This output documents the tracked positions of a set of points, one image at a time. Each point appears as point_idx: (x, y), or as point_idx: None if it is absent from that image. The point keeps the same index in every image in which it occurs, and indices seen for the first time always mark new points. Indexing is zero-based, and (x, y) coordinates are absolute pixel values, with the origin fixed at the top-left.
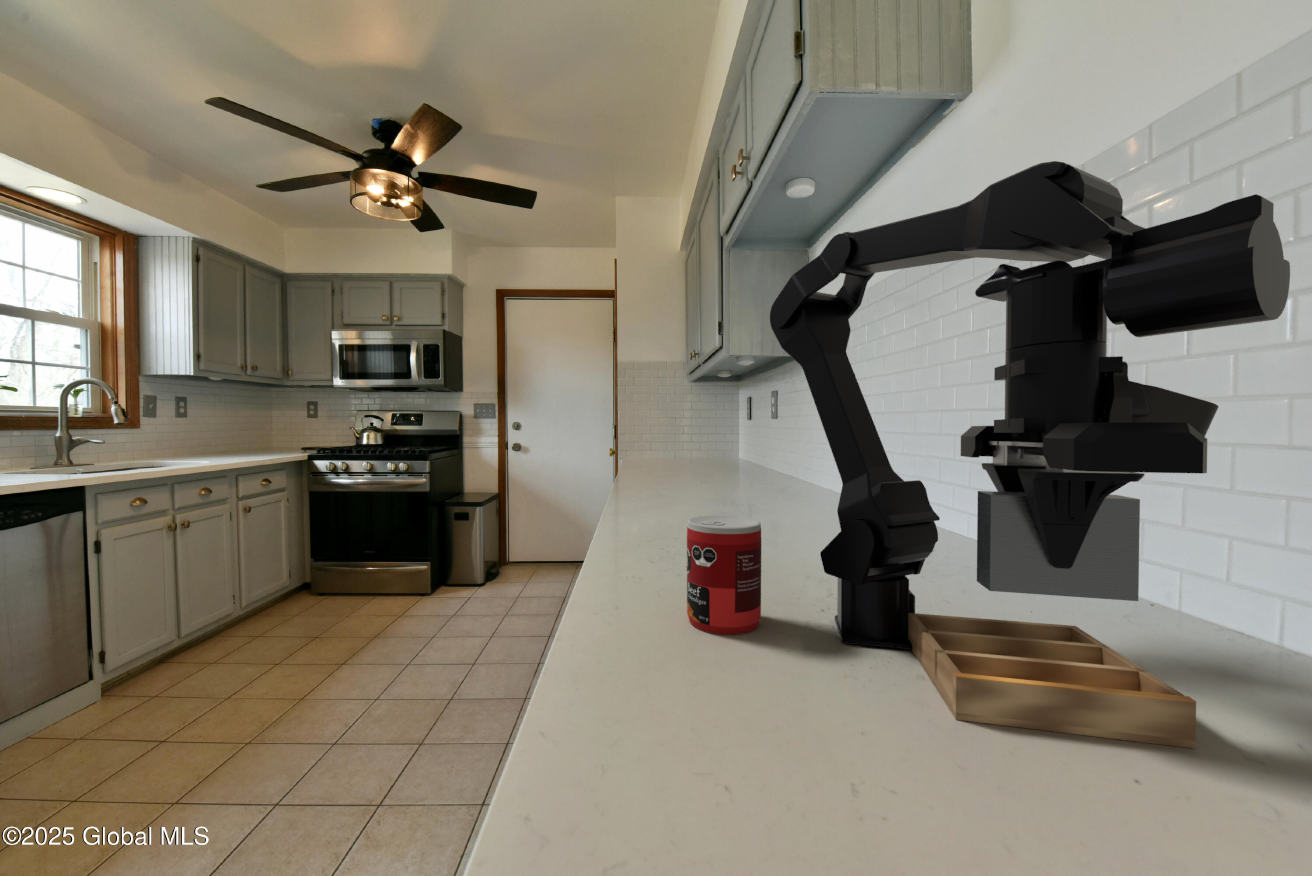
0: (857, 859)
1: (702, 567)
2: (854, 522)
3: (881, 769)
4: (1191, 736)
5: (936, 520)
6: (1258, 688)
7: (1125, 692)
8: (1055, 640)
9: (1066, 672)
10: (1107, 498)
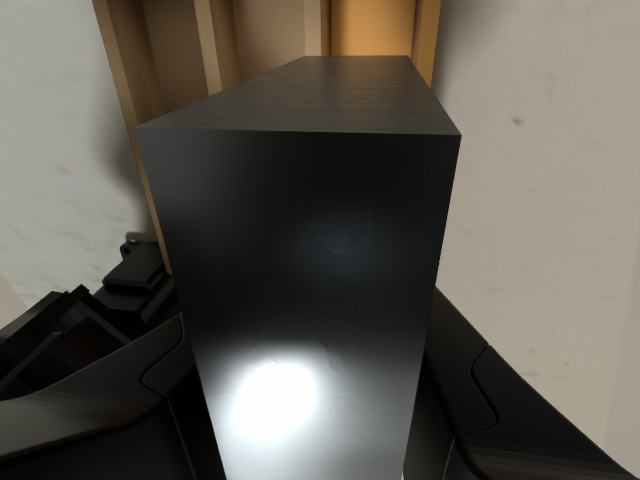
0: (607, 388)
1: None
2: None
3: (500, 350)
4: None
5: (27, 384)
6: None
7: (426, 82)
8: (131, 27)
9: None
10: (421, 334)
